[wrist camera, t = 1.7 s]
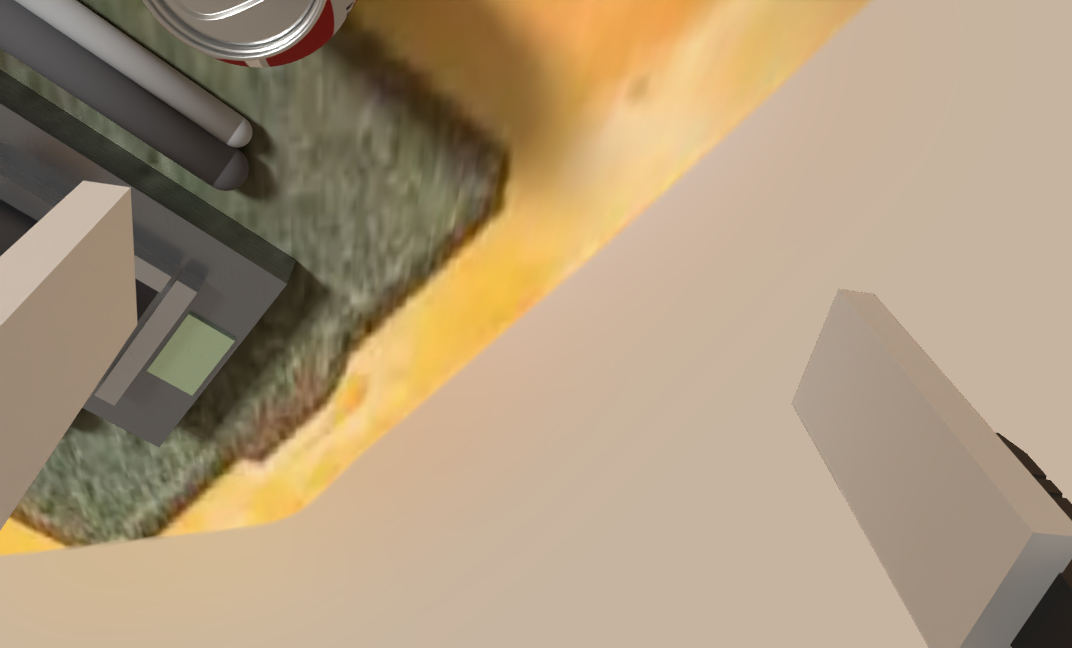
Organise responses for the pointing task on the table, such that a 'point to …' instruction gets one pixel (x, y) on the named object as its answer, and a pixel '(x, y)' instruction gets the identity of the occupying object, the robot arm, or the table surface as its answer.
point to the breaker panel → (146, 262)
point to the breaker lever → (12, 225)
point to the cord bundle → (128, 86)
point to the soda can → (252, 27)
